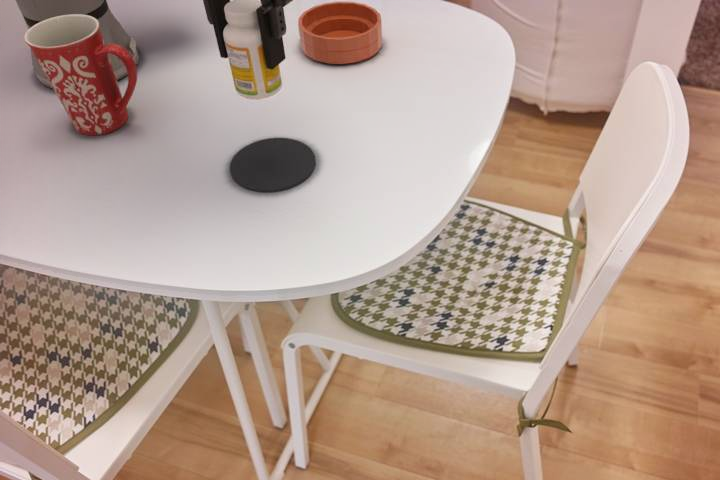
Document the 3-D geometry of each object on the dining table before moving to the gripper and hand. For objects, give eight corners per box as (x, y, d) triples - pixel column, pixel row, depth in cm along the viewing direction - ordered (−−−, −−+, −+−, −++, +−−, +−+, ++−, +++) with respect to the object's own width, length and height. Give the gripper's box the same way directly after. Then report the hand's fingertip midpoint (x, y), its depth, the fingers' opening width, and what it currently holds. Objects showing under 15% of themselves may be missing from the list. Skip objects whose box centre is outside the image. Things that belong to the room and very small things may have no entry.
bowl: (287, 42, 102) (283, 15, 99) (354, 20, 107) (353, -6, 104) (327, 75, 95) (324, 47, 91) (397, 50, 100) (397, 23, 97)
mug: (53, 135, 84) (7, 42, 74) (90, 100, 90) (51, 10, 80) (136, 147, 82) (100, 53, 72) (168, 110, 88) (138, 19, 78)
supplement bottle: (278, 73, 74) (264, -9, 67) (286, 96, 70) (272, 12, 63) (233, 80, 73) (214, -2, 66) (239, 104, 69) (220, 20, 62)
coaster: (216, 159, 80) (215, 156, 80) (290, 130, 85) (290, 128, 84) (253, 204, 74) (253, 201, 74) (331, 170, 78) (331, 168, 78)
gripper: (319, -199, 51) (341, 58, 68) (146, -214, 57) (206, 28, 74) (270, -180, 47) (307, 91, 64) (87, -199, 52) (165, 56, 69)
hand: (253, 57), depth 69 cm, fingers closed on supplement bottle, 5 cm apart
